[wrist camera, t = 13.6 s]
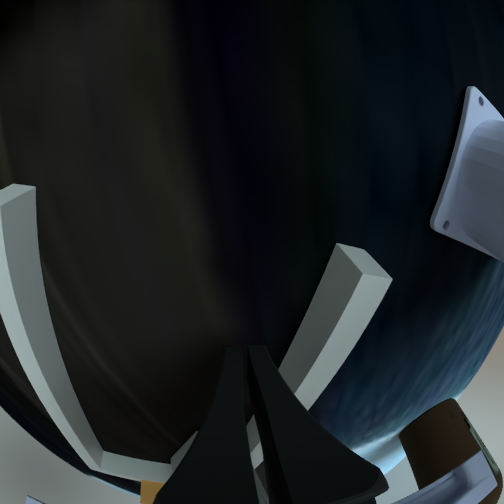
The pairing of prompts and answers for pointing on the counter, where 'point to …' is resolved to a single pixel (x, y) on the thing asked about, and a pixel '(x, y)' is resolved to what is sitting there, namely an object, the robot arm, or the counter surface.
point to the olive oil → (445, 446)
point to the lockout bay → (57, 380)
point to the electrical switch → (260, 490)
